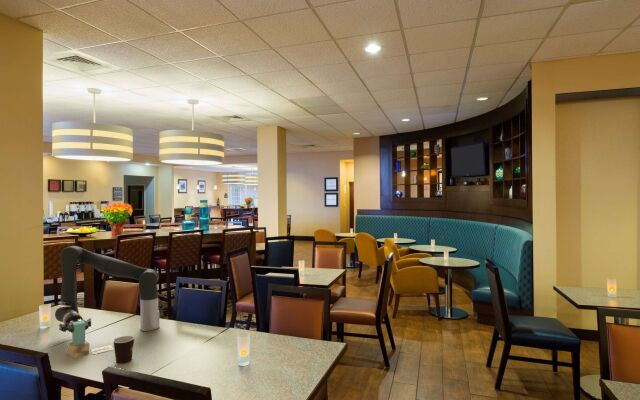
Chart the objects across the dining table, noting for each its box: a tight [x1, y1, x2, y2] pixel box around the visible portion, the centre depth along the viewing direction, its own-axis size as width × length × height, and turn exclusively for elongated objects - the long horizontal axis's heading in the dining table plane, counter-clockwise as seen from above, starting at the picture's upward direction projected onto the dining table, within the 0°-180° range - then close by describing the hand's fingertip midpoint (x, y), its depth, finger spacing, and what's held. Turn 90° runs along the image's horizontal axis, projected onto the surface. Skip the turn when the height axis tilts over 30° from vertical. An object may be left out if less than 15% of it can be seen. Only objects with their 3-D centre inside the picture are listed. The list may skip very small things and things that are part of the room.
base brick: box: [67, 340, 90, 359], centre depth 182 cm, size 7×7×5 cm
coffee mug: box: [112, 335, 135, 365], centre depth 175 cm, size 12×9×10 cm
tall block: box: [71, 321, 86, 346], centre depth 182 cm, size 4×4×10 cm
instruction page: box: [89, 344, 115, 355], centre depth 186 cm, size 9×7×1 cm
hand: (79, 328), depth 180 cm, fingers open, 5 cm apart
